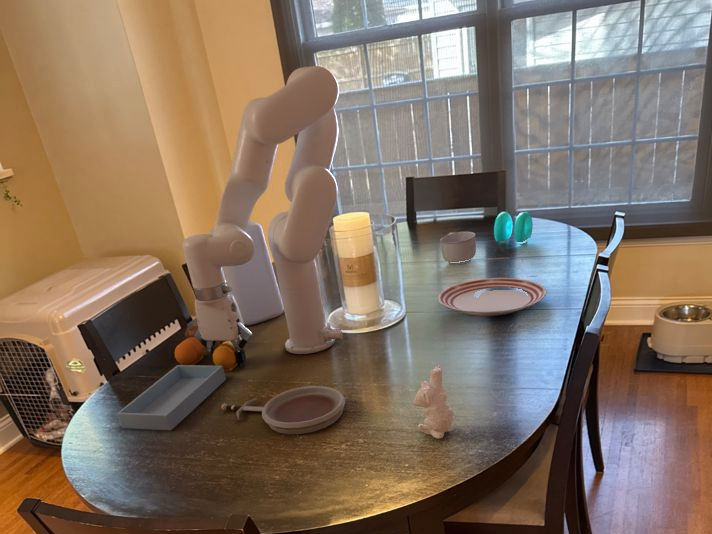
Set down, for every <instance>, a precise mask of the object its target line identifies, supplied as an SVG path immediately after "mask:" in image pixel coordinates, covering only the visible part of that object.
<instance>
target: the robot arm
mask: <svg viewBox="0 0 712 534" xmlns="http://www.w3.org/2000/svg"><path fill="white" fill-rule="evenodd" d="M285 84H286V85H284V86H283V87H280V89H278V90H276V91H275V92H273V93H271V94H270V95H268V96H266V97H257V98H254V99H251V100H249V102H248V103H246V105H245V107H244V109H243V112H242V114H241V115H242V116H241V119H240V124H239V129H238V132H237V133H238V134H237V138H236V143H235V148H234V153H233V157H232V160H231V161H232V162H231V166H230V170H229V175H228V177H227V180H226V183H225V186H224V189H223V192H222V196H221V199H220V202H219V206H218V210H217V214H216V219H215V222H214V223H215V224H214V227H213V228H214V234H213V236H212V235H210V233H199V234H193V235H191V236H188V237H186V238H184V239H183V241H182V244H181V249H182V251H183V255H184V259H185V262H186V266H187V270H188V273H189V277H190V281H191V285H192V288H193V292H194V295H195V299H194V311H195V317H196V323H197V326H198V329H197V331H196V333H195V334H194V337H195V338H196V339H197V340H198V341H200V342H201V344H202V345H204V348H206V350H207V352H209V354H210V357H211V361H212V363H213V366H216V365H215V363H214V361H213V353H214V351H215V349H216V348H217V346H216V344H217V341H231V343H232V344H233V346H234V348H235V349H236V351H235V352H234V353H235V357H236V361H237V367H238V368H242V367H243V366H244V365H245V364H246V363H247V356H246V351H245V347H246V345H247V344H248V342H249V340H250V339H251V338H252V336H253V333H252V331H250V330H249V329H248V328H247V326H244V323H243V320H242V316H241V313H240V310H239V308H238V305H237V303H236V301H235V299H234V297H233V295H232V294H229V292H232V287H231V286H228V285H227V282H226V280H225V275H224V271H223V267H224V266H238V265H243V264H245V263H247V262H249V261H250V260H251V259H252V257H253V255H254V252H255V246H254V242H253V240H252V239H251V237H250V236H249V235H248V234H247V228H248V224H249V221H251V216H252V213H253V210H254V208H255V205H256V203H257V202H258V200H259V199H260V198H261V196H262V195H263V194H264V193H266V191H267V190H268V187H269V185H270V183H271V182H270V181H271V177H272V172H273V169H274V163H275V160H276V155H277V151H278V146H279V145H280V144H283V143H284V142H286V141H288V140H290V139H292V138H294V137H295V136H296V135H297V141H296V144H295V148H294V151H293V155H292V158H291V162H290V164H289V168H288V171H287V174H286V177H285V181H284V192H285V196H286V198H287V199H288V201H289V202H290V205H289V208H288V211H281V212H279V213H277V214H275V215H274V216H273V217H272V218H271V220H270V222H269V223H268V227H267V242H268V247H269V249H270V253H271V257H272V260H273V263H274V268H275V271H276V275H277V282H278V288H279V291H280V295H281V299H282V302H283V307H284V311H283V313H284V316H285V321H286V326H287V331H288V337H289V338H288V339H287V340H286V341H285V343H284V347H285V350H286V351H287V352H288V353H291V354H295V355H308V354H314V353H320V352H321V351H325V350H326V349H328V348H330V347H332V346H333V345H334V344H335V343H336V340H343V337H344V333H343V331H342V329H341V328H332V327H331V323H330V322H327V320H326V314H325V310H324V302H323V296H322V292H321V286H320V278H319V272H318V267H317V262H316V259H315V258H317V257H318V255H319V254H320V252H321V250H322V248H323V245H324V243H325V240H326V237H327V234H328V231H329V228H330V224H331V222H332V219H333V215H334V213H335V210H336V207H337V202H338V192H339V191H338V190H339V189H338V185H337V184H338V183H337V180H336V178H335V176H334V175H333V174H332V172H331V168H332V165H333V160H334V158H335V157H334V156H335V153H336V149H337V145H338V140H339V123H338V122H339V121H338V117H337V113H336V109H335V106H336V104H337V102H338V99H339V94H340V87H339V83H338V80H337V78H336V76H335V75H334V73H333V72H332V71H330V70H329V69H328V68H326V67H324V66H320V65H313V66H303V67H298V68H296V69H294V70H293V71H292V72H291V74H290V75H289V76H288V79H287V81H286V83H285ZM239 334H240V335H239ZM241 335H243V337H241ZM236 340H237V341H236Z"/></svg>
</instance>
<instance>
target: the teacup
mask: <svg viewBox="0 0 712 534" xmlns="http://www.w3.org/2000/svg"><path fill="white" fill-rule="evenodd" d="M439 242H440V248H441V249H440V250H441V254H442V258H443V260H444V261H445V262H447V261H448V262H447V263H448V264H450V265H454V266H458V265H459V266H460V265H464V264H467V263H470V262H471V260H472V259H473V258H474V257H475V256H476V251H477V242H476V233H475V232H473V231H458V232H453V231H451V232H449V233H448V234H446V235H444V236H442V237H441V238H440V239H439ZM471 258H472V259H471ZM469 259H471V260H469ZM465 260H469V261H465ZM459 261H465V262H460V263H450V262H459Z"/></svg>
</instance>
